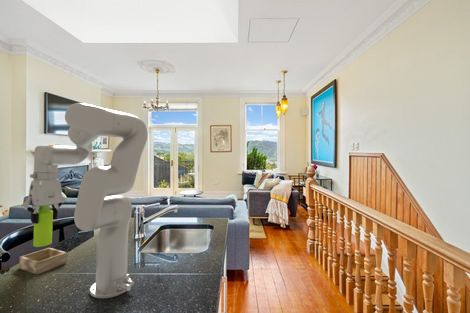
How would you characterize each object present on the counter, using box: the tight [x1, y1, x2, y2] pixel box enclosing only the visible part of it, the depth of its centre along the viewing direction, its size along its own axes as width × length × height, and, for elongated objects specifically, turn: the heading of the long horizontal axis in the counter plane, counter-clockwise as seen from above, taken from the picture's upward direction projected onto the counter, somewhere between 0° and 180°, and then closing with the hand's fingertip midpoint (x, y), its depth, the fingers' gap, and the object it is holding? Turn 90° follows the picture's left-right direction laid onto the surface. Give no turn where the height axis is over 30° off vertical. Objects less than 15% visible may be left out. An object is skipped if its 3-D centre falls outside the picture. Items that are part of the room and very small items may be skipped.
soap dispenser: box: [32, 196, 55, 248], centre depth 96 cm, size 6×7×20 cm
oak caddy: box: [18, 247, 68, 275], centre depth 96 cm, size 12×11×4 cm
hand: (44, 220), depth 96 cm, fingers closed on soap dispenser, 5 cm apart
